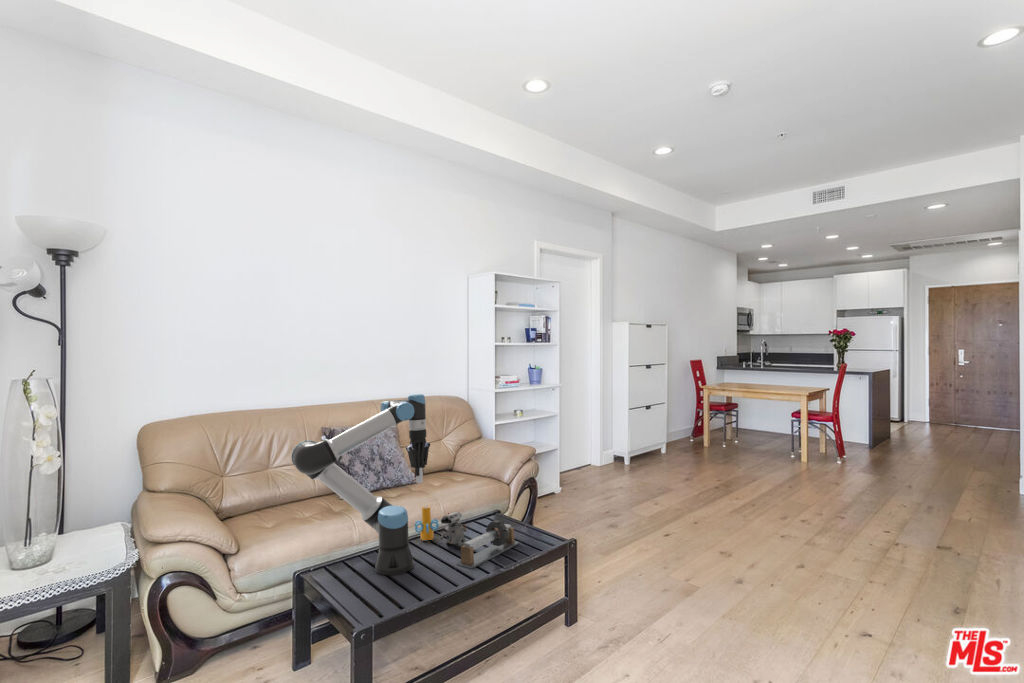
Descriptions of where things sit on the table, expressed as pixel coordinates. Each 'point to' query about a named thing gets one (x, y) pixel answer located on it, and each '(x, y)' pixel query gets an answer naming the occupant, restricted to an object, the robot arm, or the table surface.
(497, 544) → the dark gear wheel
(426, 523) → the yellow blue looped tower
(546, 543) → the table surface
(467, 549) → the grey rail stand
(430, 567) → the table surface
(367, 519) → the robot arm
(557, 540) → the table surface
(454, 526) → the figurine
